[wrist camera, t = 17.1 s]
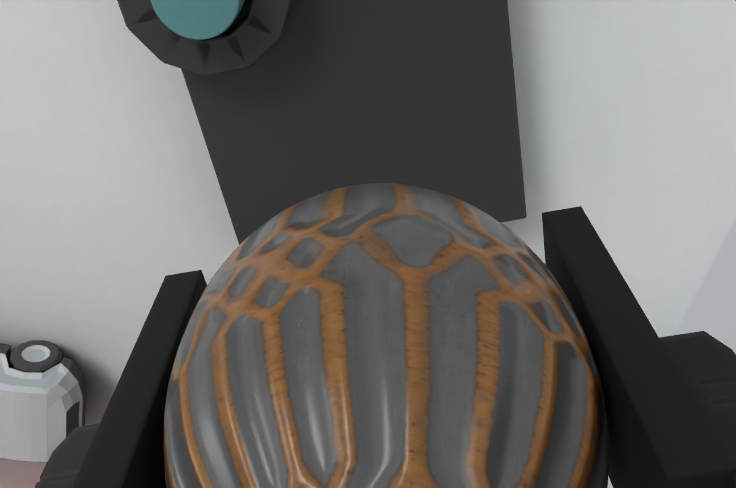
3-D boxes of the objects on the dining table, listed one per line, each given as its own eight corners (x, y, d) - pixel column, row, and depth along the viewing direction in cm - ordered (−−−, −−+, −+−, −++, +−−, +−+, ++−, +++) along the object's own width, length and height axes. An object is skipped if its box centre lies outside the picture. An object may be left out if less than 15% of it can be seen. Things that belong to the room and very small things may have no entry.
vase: (142, 243, 14) (-107, 716, 7) (440, 59, 12) (568, 419, 5) (333, 448, 17) (313, 936, 10) (597, 324, 15) (829, 806, 8)
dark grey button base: (118, -99, 25) (84, -89, 22) (482, -179, 24) (500, -181, 21) (233, 247, 32) (220, 290, 29) (517, 198, 31) (535, 237, 28)
